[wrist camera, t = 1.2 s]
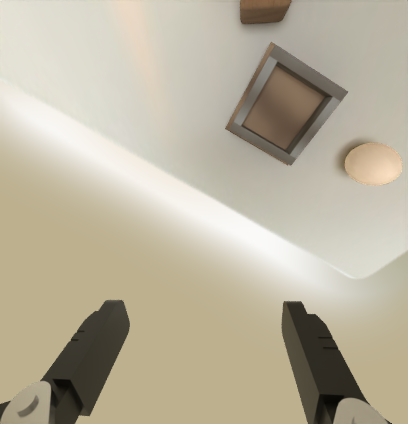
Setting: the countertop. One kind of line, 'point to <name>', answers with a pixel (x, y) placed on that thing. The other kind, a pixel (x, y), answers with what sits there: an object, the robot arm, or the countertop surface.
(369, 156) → the egg
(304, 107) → the holder
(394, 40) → the countertop surface
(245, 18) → the wooden block
